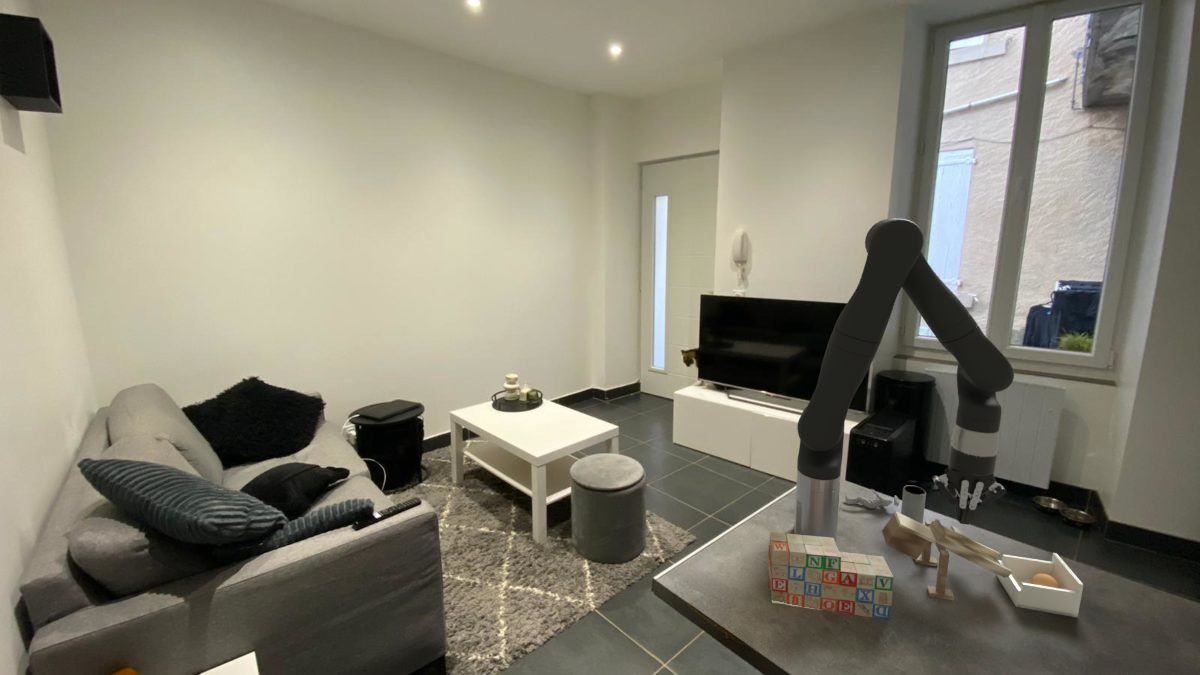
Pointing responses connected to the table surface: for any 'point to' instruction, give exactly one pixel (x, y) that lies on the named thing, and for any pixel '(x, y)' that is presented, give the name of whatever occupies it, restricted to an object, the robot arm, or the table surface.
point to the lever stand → (942, 571)
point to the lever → (939, 542)
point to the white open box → (1042, 596)
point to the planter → (913, 502)
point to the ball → (1045, 581)
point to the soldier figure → (872, 501)
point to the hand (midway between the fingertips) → (963, 522)
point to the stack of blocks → (828, 576)
